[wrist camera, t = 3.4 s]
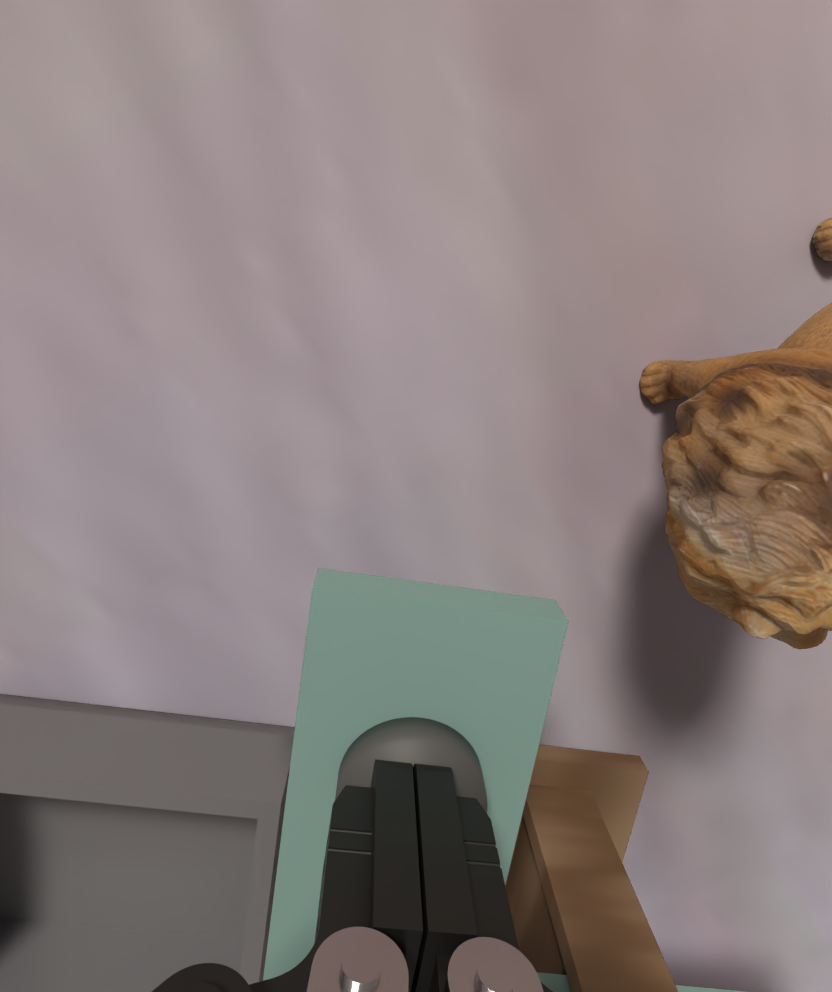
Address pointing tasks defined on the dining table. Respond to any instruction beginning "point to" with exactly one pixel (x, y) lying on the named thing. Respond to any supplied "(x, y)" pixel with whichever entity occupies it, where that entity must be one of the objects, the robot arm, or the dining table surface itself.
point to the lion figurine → (755, 479)
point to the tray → (134, 844)
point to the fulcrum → (583, 874)
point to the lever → (411, 718)
